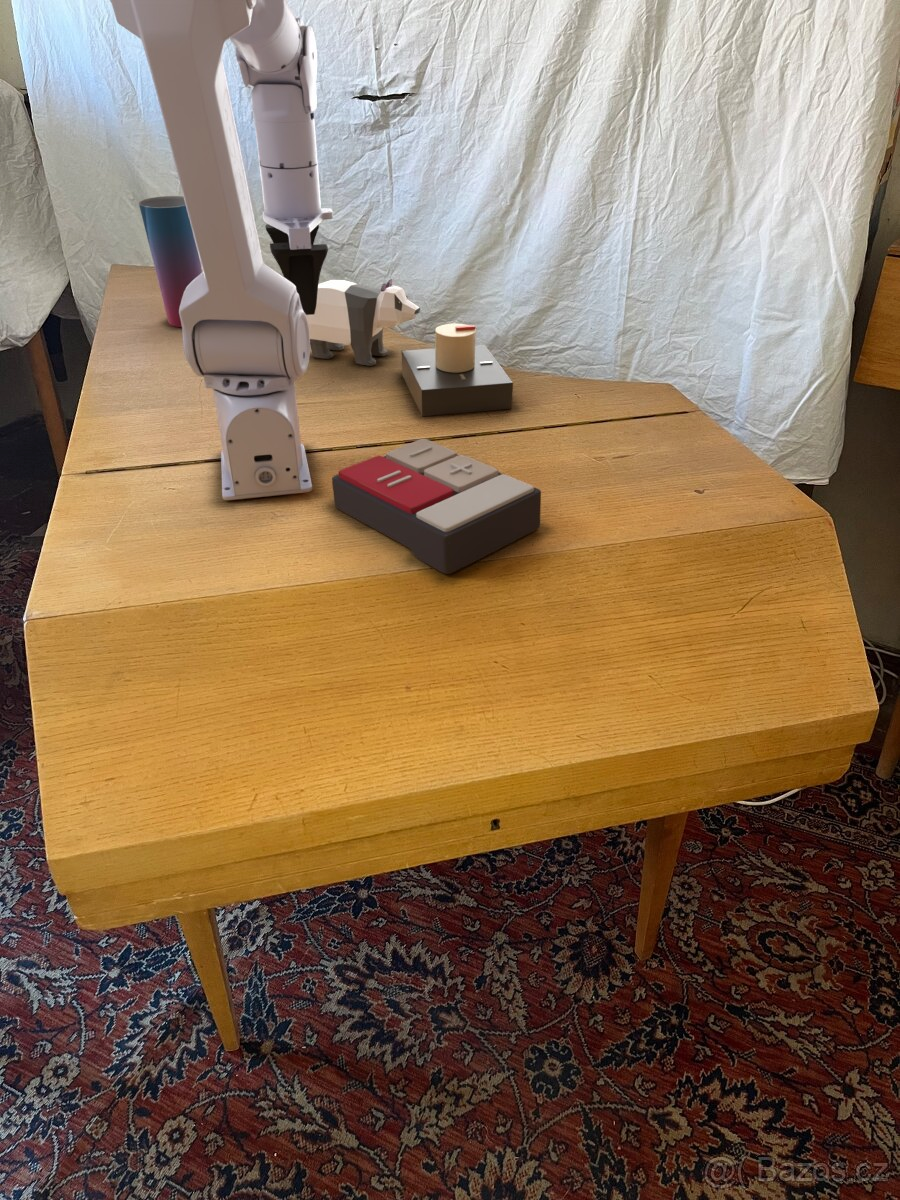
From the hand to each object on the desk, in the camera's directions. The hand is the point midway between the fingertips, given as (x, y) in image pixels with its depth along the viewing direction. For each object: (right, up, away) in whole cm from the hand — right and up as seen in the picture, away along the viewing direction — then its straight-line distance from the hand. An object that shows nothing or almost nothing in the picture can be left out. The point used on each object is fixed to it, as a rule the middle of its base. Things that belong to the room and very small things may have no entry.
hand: (301, 303), depth 93 cm
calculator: (+15, -25, -18) cm, 34 cm away
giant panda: (+5, -2, +13) cm, 14 cm away
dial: (+17, -6, +3) cm, 18 cm away
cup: (-19, +5, +24) cm, 31 cm away
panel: (+17, -9, +5) cm, 19 cm away
